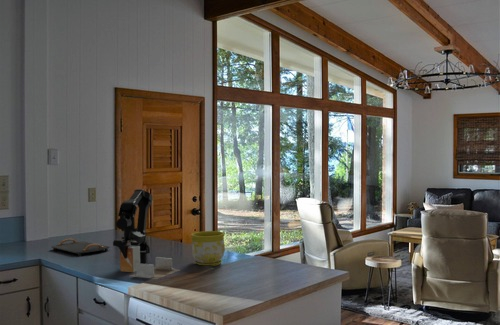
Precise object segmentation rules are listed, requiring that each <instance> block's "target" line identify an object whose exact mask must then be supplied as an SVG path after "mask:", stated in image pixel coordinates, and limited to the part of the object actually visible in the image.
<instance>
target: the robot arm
mask: <svg viewBox="0 0 500 325" xmlns="http://www.w3.org/2000/svg"><path fill="white" fill-rule="evenodd" d="M152 202H153V195H152V194H151V193H150V192H148V191H146V190H145V189H142V188H140V189H139V188H138V189H135V190H134V191H133V193H132V194H131V196H130V197H129V198H128V199H127V200H124V201H123V202H122V203H121V204H120V206H119V210H118V215H117V216H118V217H119V218H118V219H117V221H116V223H115V224H116V227H117V229H119V230H121V231H122V232H123V236H122V237H121V238H117V239H113V241H112V246H113V247H117V248H118V250H119V252H120V251H121V252H122V254H123V256H124V258H125V259H126V258H127V248H128V247H129V245H128V243H130V246H140V263H142V264H148V254H150V253H151V248H150V245H149V242H148V238H147V232H146V230H147V220H148V219H147V218H148V211H149V209H150V208H151V206H152ZM137 210H138V211H137ZM137 212H138V214H137V215H138V216H137V223H136V219H135V217H136V213H137Z"/></svg>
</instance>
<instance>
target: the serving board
mask: <svg viewBox="0 0 500 325" xmlns="http://www.w3.org/2000/svg"><path fill="white" fill-rule="evenodd" d="M69 241H71V242H69ZM67 242H68V243H67ZM110 248H111V247H110V246H107V245H102V244H99V243H92V242H88V241H78V240H75V239H74V238H66V239H63V240H61V241H60V242H59V243H57V244H55V245H52V246H51V249H53V251H57V250H60V251H63V252H64V251H65V252H69V253H73V254H77V256H78V257H82V254H85V253H92V252H98V251H99V252H100V251H104V252H109V249H110Z"/></svg>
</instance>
